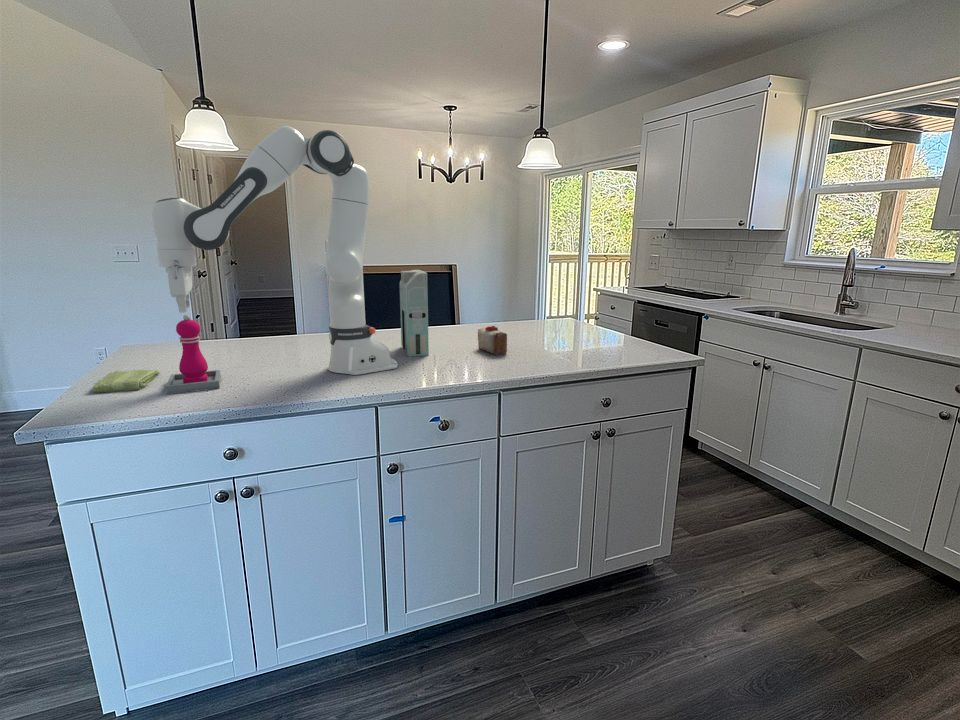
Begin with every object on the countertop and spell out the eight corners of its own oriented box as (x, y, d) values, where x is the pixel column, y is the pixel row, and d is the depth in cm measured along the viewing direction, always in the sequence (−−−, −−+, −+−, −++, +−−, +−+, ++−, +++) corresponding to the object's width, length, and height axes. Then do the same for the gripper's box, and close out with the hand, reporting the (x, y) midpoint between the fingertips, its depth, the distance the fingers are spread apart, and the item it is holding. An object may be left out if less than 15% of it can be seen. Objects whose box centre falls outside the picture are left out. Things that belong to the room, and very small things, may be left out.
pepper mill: (197, 386, 140) (187, 316, 135) (175, 384, 142) (165, 315, 137) (215, 379, 147) (206, 312, 142) (194, 377, 149) (185, 311, 144)
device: (401, 347, 195) (399, 269, 187) (420, 346, 197) (419, 269, 189) (407, 356, 179) (405, 273, 172) (428, 355, 182) (427, 273, 174)
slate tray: (220, 376, 153) (220, 369, 152) (219, 388, 142) (218, 380, 141) (172, 381, 148) (171, 374, 147) (166, 394, 136) (165, 386, 136)
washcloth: (161, 375, 156) (160, 365, 155) (143, 391, 140) (141, 380, 139) (113, 378, 152) (111, 368, 151) (88, 396, 136) (86, 384, 135)
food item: (474, 348, 193) (474, 323, 191) (492, 346, 197) (492, 322, 195) (492, 356, 182) (492, 329, 179) (510, 353, 186) (511, 328, 183)
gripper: (187, 261, 128) (194, 314, 131) (193, 257, 146) (200, 304, 149) (158, 262, 125) (167, 316, 129) (168, 258, 143) (175, 305, 147)
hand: (184, 309), depth 139 cm, fingers open, 8 cm apart
